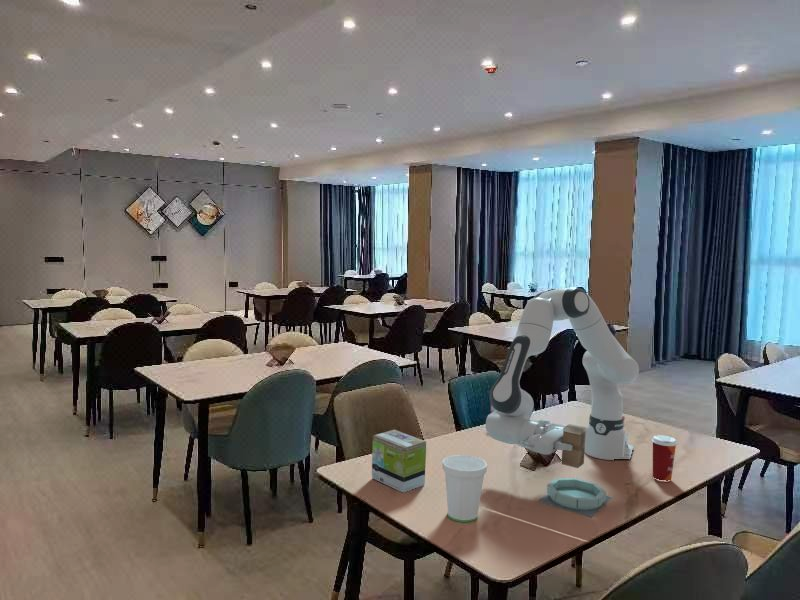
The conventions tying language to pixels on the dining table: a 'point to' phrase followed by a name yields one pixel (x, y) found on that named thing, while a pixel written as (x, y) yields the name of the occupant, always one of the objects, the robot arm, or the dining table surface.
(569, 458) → the lidded brown carton
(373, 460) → the tea box
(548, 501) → the place mat
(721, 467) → the dining table surface
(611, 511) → the dining table surface
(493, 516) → the dining table surface
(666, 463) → the paper cup
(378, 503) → the dining table surface
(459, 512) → the cup
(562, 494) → the bowl
